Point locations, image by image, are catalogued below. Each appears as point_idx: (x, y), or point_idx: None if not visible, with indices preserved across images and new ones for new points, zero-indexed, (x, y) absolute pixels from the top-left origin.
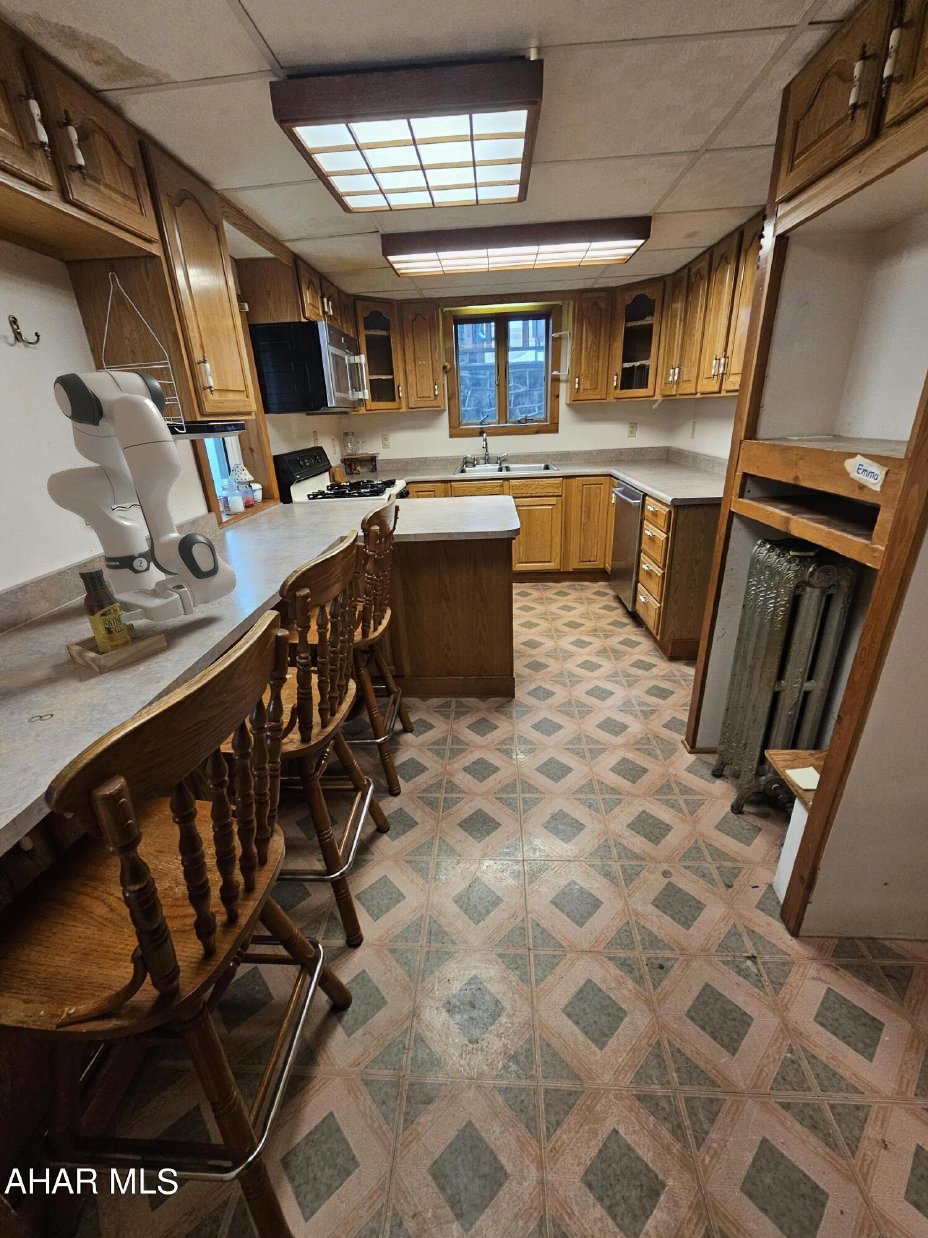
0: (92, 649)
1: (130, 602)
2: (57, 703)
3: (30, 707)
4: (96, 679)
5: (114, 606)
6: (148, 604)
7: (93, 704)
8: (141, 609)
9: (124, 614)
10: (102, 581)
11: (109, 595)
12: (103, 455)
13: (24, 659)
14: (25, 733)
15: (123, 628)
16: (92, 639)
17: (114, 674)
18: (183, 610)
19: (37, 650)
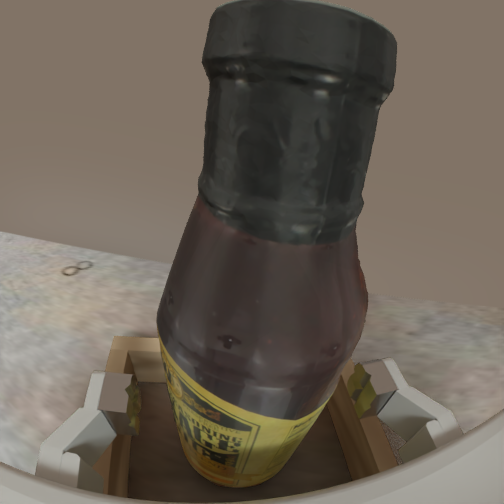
0: (330, 399)
1: (279, 500)
2: (93, 288)
3: (128, 271)
4: (110, 349)
5: (163, 351)
6: (9, 493)
7: (27, 303)
8: (50, 468)
9: (93, 387)
10: (222, 135)
11: (189, 283)
12: None
13: (403, 310)
14: (63, 253)
15: (182, 435)
16: (343, 390)
17: (89, 376)
18: None
19: (441, 328)
